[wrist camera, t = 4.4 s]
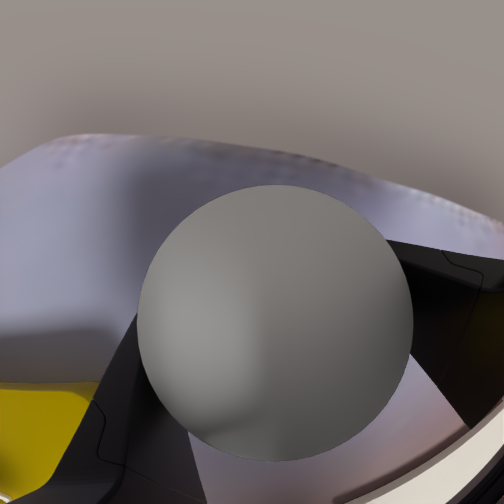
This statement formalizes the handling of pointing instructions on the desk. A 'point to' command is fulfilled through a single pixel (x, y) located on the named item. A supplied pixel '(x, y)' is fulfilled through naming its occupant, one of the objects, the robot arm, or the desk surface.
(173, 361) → the grey cylinder
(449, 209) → the desk surface
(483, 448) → the notebook
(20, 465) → the element tile
